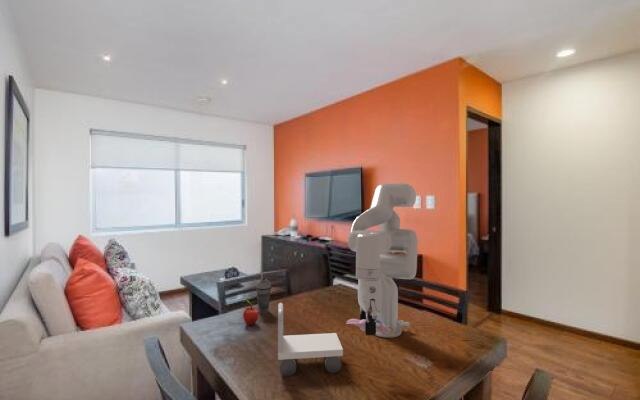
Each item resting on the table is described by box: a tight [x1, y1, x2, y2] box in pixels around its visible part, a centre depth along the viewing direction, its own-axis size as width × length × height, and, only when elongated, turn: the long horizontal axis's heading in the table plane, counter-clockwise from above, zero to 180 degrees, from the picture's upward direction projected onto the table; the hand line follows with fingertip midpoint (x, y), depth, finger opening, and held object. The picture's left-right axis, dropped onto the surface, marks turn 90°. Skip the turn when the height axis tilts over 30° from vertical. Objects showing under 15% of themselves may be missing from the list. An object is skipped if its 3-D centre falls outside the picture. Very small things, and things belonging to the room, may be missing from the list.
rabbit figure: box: [345, 316, 394, 335], centre depth 100 cm, size 6×6×15 cm
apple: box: [242, 299, 260, 326], centre depth 135 cm, size 8×7×10 cm
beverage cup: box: [255, 269, 272, 314], centre depth 149 cm, size 7×7×20 cm
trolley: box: [277, 302, 344, 377], centre depth 103 cm, size 20×13×18 cm, turn 97°
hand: (367, 329), depth 99 cm, fingers closed on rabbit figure, 5 cm apart
